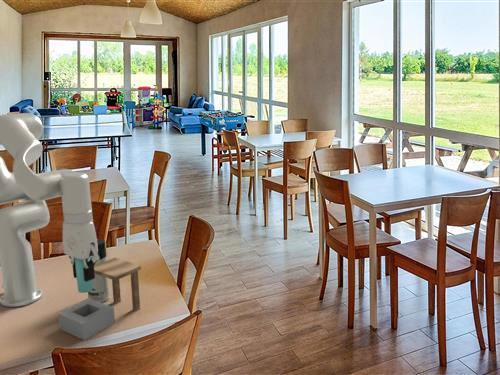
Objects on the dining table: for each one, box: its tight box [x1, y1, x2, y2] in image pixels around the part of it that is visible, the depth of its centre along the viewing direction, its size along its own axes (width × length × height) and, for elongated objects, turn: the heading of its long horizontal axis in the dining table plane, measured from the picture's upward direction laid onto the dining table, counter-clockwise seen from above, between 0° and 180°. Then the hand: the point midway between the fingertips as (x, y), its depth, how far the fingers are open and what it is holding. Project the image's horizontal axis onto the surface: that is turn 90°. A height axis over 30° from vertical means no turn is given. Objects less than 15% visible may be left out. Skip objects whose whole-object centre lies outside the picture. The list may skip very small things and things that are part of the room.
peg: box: [75, 258, 93, 294], centre depth 129 cm, size 4×4×12 cm
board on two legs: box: [94, 257, 142, 311], centre depth 141 cm, size 12×10×15 cm
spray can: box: [87, 238, 110, 304], centre depth 148 cm, size 7×7×20 cm
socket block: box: [57, 298, 116, 341], centre depth 133 cm, size 11×11×5 cm
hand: (84, 277), depth 130 cm, fingers closed on peg, 4 cm apart
